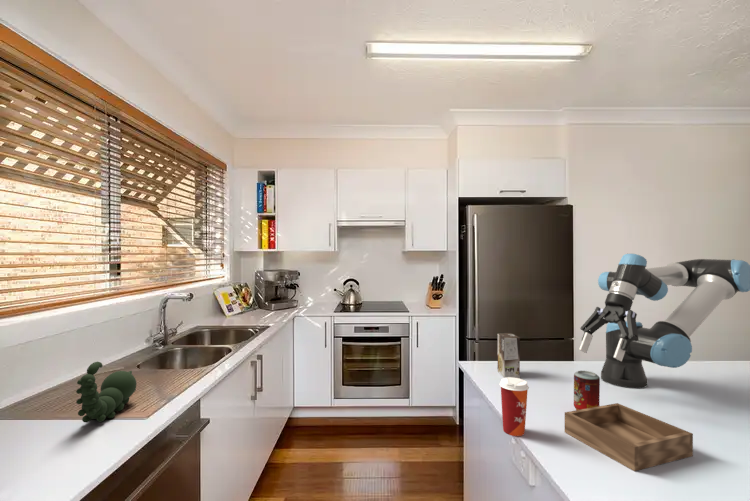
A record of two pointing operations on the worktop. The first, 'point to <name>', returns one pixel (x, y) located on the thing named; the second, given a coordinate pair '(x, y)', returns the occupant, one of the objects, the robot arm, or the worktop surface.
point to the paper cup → (514, 405)
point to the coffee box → (509, 355)
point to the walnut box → (629, 436)
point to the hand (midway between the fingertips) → (599, 355)
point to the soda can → (586, 390)
